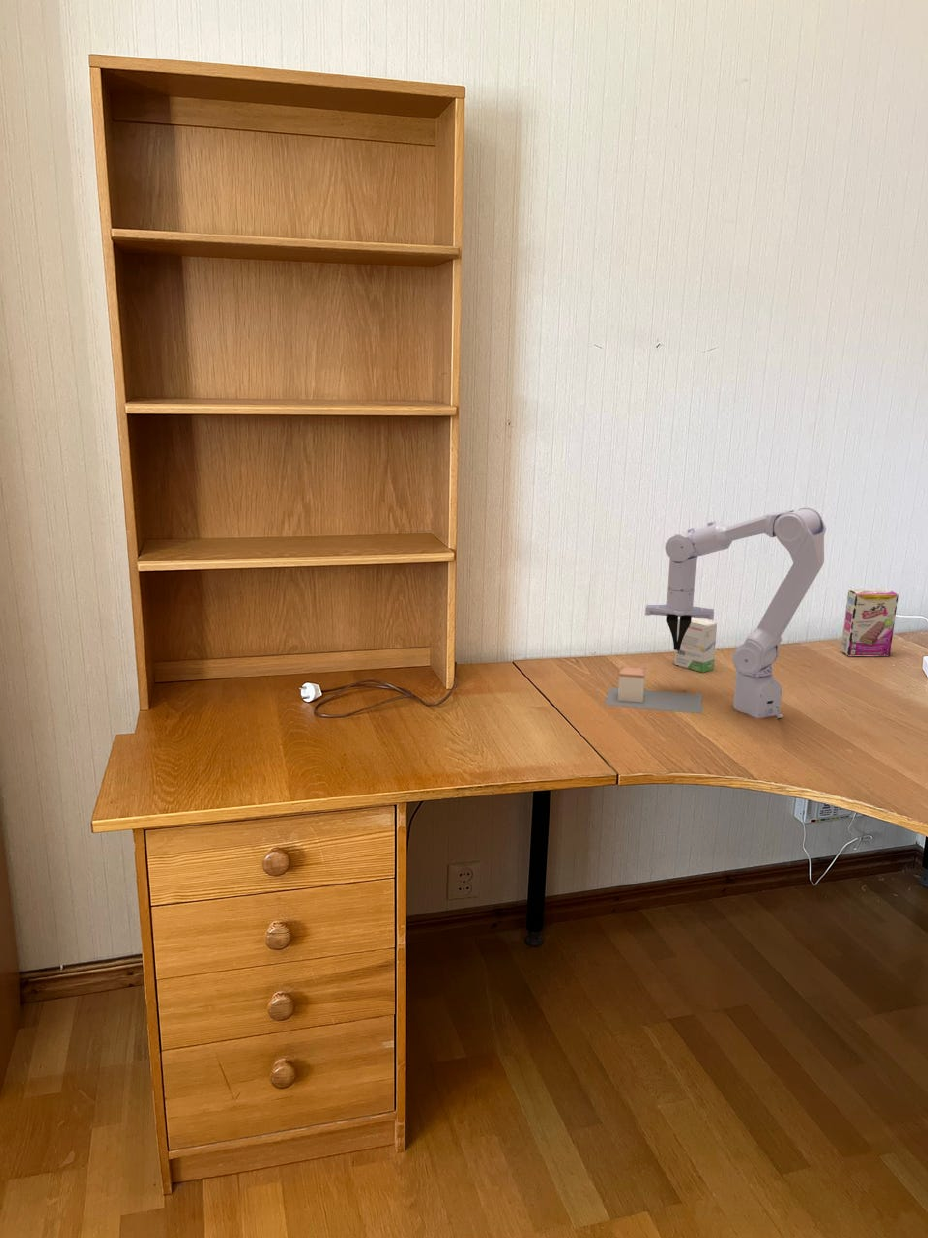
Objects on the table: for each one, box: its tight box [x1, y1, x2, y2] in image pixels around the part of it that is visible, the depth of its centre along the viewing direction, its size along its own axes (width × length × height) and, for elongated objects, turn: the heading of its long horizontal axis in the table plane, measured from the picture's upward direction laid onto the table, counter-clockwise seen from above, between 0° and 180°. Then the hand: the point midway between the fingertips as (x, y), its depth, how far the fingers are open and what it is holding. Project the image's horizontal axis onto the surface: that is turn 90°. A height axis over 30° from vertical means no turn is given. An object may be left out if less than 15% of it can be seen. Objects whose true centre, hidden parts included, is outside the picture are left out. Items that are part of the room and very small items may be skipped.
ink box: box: [674, 617, 718, 674], centre depth 232 cm, size 8×5×12 cm, turn 40°
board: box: [605, 686, 703, 714], centre depth 208 cm, size 20×12×1 cm, turn 77°
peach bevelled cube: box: [617, 666, 646, 703], centre depth 208 cm, size 5×5×6 cm
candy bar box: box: [840, 589, 900, 656], centre depth 243 cm, size 11×5×16 cm, turn 94°
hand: (676, 648), depth 212 cm, fingers closed
